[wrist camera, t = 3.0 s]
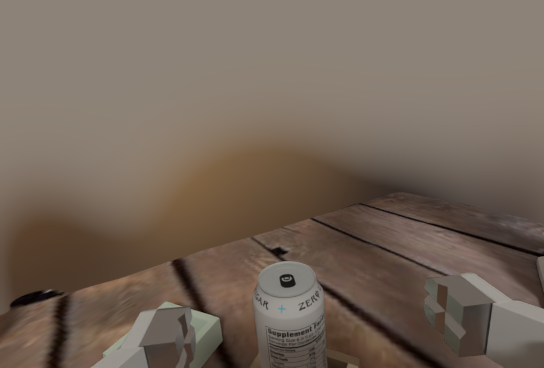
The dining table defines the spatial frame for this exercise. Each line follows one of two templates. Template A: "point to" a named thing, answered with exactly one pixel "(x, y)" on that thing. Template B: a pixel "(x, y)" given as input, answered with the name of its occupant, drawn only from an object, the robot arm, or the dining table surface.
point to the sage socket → (204, 330)
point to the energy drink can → (290, 317)
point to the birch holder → (337, 362)
